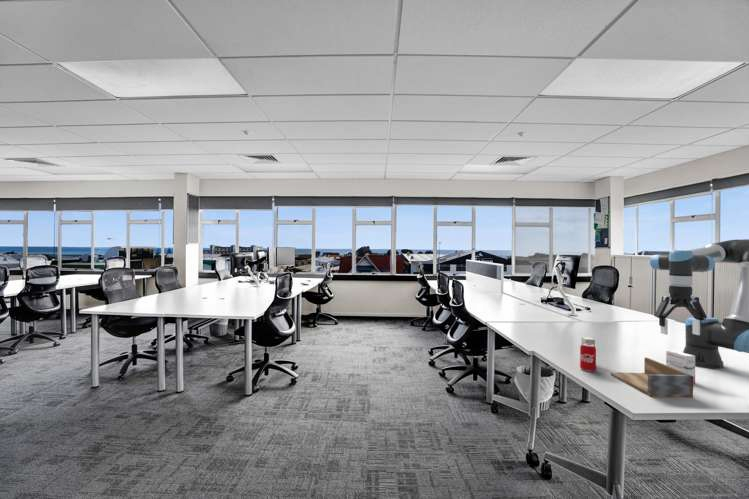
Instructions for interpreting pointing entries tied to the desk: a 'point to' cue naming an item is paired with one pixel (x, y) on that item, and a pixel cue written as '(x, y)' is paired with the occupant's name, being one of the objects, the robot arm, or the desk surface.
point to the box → (588, 340)
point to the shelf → (659, 380)
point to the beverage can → (588, 357)
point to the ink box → (681, 362)
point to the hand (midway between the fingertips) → (680, 334)
